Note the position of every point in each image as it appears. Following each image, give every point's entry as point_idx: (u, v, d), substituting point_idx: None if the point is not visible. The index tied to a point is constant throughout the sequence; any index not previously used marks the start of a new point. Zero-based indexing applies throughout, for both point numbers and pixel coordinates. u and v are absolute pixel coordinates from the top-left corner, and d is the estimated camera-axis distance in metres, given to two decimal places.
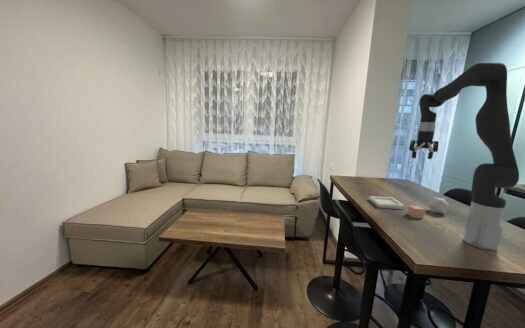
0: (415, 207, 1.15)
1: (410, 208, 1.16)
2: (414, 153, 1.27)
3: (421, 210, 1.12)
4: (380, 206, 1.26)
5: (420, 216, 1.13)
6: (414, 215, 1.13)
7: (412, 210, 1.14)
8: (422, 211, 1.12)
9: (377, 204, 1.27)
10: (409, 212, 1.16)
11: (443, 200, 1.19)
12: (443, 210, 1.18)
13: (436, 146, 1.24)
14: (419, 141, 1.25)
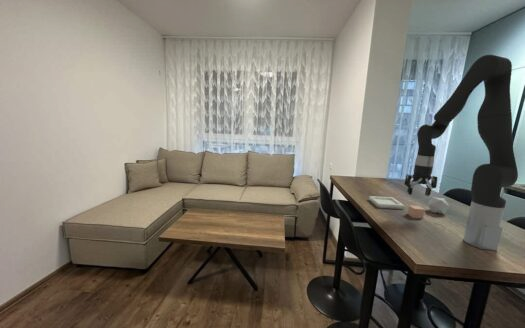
0: (415, 207, 1.15)
1: (410, 208, 1.16)
2: (410, 189, 1.13)
3: (421, 210, 1.12)
4: (380, 206, 1.26)
5: (420, 216, 1.13)
6: (415, 215, 1.13)
7: (412, 210, 1.14)
8: (422, 211, 1.12)
9: (377, 204, 1.27)
10: (409, 212, 1.16)
11: (443, 200, 1.19)
12: (443, 210, 1.18)
13: (435, 182, 1.11)
14: (416, 176, 1.11)
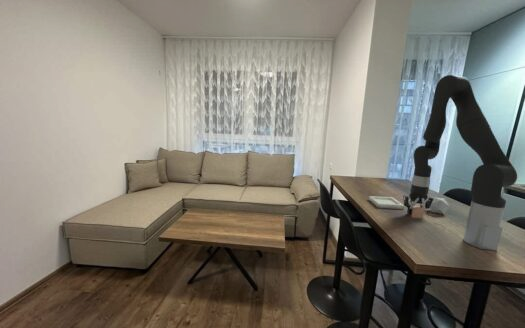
0: (415, 207, 1.15)
1: None
2: (410, 210, 1.15)
3: (421, 210, 1.12)
4: (380, 206, 1.26)
5: (420, 216, 1.13)
6: (414, 215, 1.13)
7: (412, 210, 1.14)
8: (422, 211, 1.12)
9: (377, 204, 1.27)
10: None
11: (443, 200, 1.19)
12: (443, 210, 1.18)
13: (429, 203, 1.13)
14: (412, 196, 1.13)
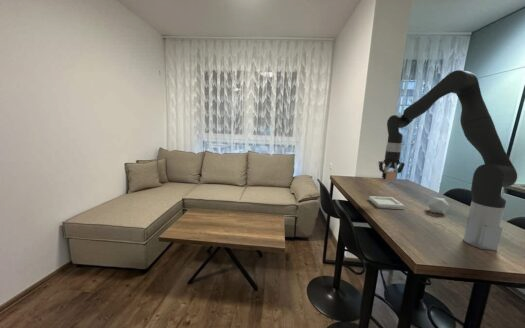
0: (389, 171, 1.28)
1: None
2: (384, 174, 1.28)
3: (393, 173, 1.26)
4: (380, 206, 1.26)
5: (393, 179, 1.27)
6: (388, 178, 1.27)
7: (386, 173, 1.27)
8: (394, 174, 1.26)
9: (377, 204, 1.27)
10: None
11: (443, 200, 1.19)
12: (443, 210, 1.18)
13: (401, 167, 1.26)
14: (386, 161, 1.27)
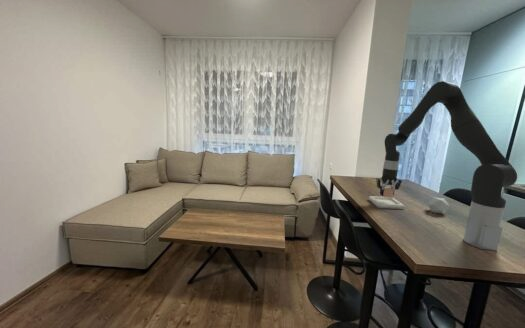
0: (386, 188, 1.30)
1: None
2: (381, 191, 1.30)
3: (391, 190, 1.28)
4: (380, 206, 1.26)
5: (390, 195, 1.29)
6: (385, 195, 1.29)
7: (384, 190, 1.29)
8: (392, 191, 1.28)
9: (377, 204, 1.27)
10: None
11: (443, 200, 1.19)
12: (443, 210, 1.18)
13: (398, 184, 1.28)
14: (383, 178, 1.28)
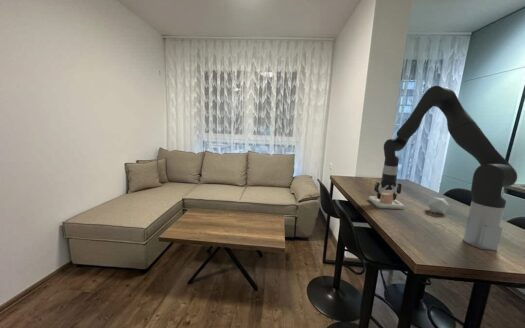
0: (385, 194, 1.31)
1: (381, 195, 1.32)
2: (378, 194, 1.31)
3: (390, 196, 1.29)
4: (380, 206, 1.26)
5: (389, 202, 1.29)
6: (385, 201, 1.29)
7: (383, 196, 1.30)
8: (391, 197, 1.29)
9: (377, 204, 1.27)
10: (381, 199, 1.33)
11: (443, 200, 1.19)
12: (443, 210, 1.18)
13: (399, 188, 1.29)
14: (383, 183, 1.29)
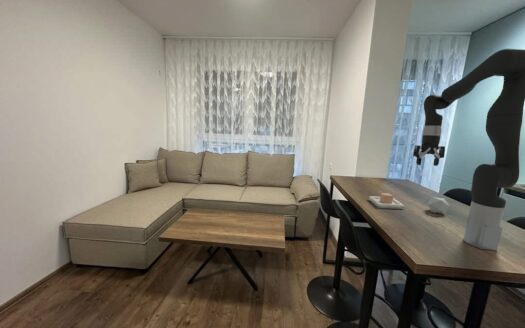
0: (385, 194, 1.31)
1: (381, 195, 1.32)
2: (419, 159, 1.16)
3: (390, 196, 1.29)
4: (380, 206, 1.26)
5: (389, 202, 1.29)
6: (385, 201, 1.29)
7: (383, 196, 1.30)
8: (391, 197, 1.29)
9: (377, 204, 1.27)
10: (381, 199, 1.33)
11: (443, 200, 1.19)
12: (443, 210, 1.18)
13: (442, 152, 1.14)
14: (424, 146, 1.14)
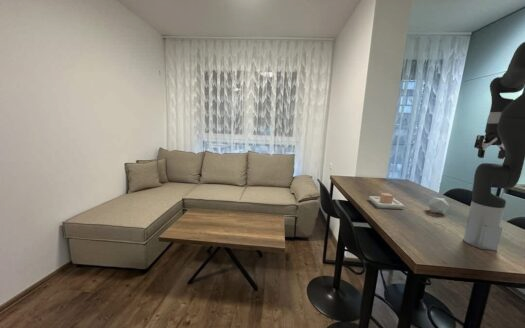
0: (385, 194, 1.31)
1: (381, 195, 1.32)
2: (482, 151, 1.01)
3: (390, 196, 1.29)
4: (380, 206, 1.26)
5: (389, 202, 1.29)
6: (385, 201, 1.29)
7: (383, 196, 1.30)
8: (391, 197, 1.29)
9: (377, 204, 1.27)
10: (381, 199, 1.33)
11: (443, 200, 1.19)
12: (443, 210, 1.18)
13: None
14: (489, 136, 0.99)
